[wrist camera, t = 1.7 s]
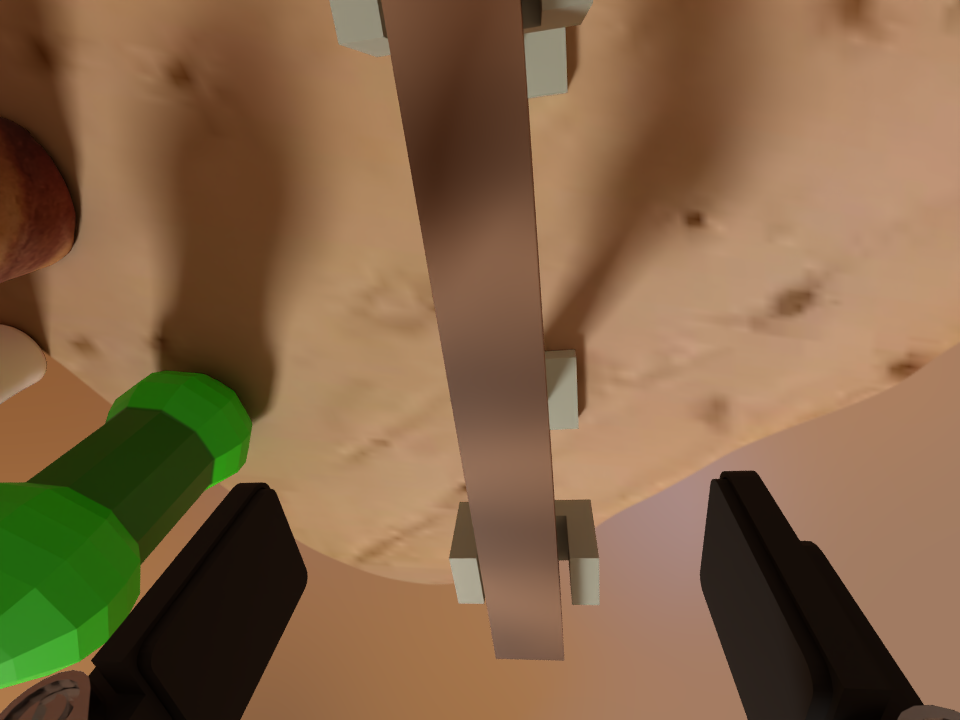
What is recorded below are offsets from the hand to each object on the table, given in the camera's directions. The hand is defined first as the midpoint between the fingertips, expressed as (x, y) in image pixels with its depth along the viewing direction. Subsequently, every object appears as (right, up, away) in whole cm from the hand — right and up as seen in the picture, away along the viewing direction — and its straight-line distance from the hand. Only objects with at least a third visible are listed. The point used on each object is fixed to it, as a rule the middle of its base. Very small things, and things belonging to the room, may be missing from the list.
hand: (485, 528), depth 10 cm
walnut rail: (+1, +5, +8) cm, 9 cm away
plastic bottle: (-22, 0, +29) cm, 37 cm away
